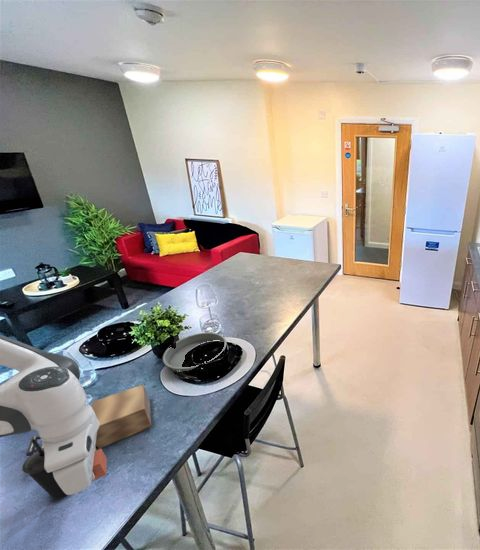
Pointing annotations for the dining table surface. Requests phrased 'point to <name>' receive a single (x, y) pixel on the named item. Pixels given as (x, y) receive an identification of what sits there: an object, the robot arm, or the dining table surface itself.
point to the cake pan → (177, 355)
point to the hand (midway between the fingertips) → (92, 468)
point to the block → (99, 464)
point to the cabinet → (122, 415)
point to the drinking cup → (42, 473)
